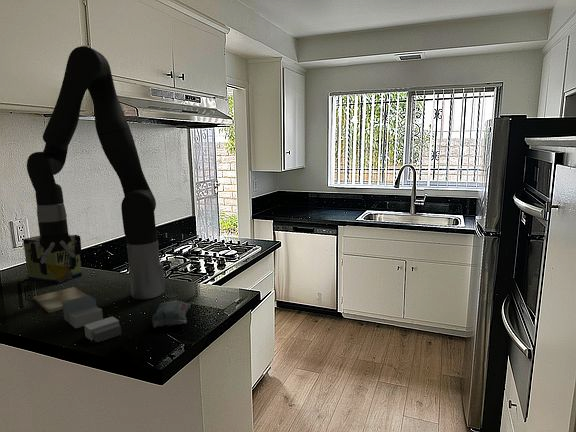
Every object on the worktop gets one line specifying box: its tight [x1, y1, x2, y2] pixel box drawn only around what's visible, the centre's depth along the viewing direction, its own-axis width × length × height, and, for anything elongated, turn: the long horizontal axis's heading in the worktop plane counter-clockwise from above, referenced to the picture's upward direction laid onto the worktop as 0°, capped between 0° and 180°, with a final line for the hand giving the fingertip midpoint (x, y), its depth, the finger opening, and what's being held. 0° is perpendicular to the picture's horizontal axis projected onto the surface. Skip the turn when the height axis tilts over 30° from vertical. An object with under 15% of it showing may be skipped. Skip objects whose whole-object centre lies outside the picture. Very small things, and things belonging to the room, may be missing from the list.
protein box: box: [22, 234, 83, 285], centre depth 150 cm, size 10×16×16 cm
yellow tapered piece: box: [46, 264, 73, 283], centre depth 127 cm, size 5×5×10 cm
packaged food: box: [151, 299, 192, 328], centre depth 109 cm, size 9×12×5 cm
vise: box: [62, 294, 122, 343], centre depth 108 cm, size 7×22×5 cm, turn 45°
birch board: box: [33, 286, 87, 314], centre depth 128 cm, size 12×16×1 cm
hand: (59, 271), depth 126 cm, fingers closed on yellow tapered piece, 7 cm apart
